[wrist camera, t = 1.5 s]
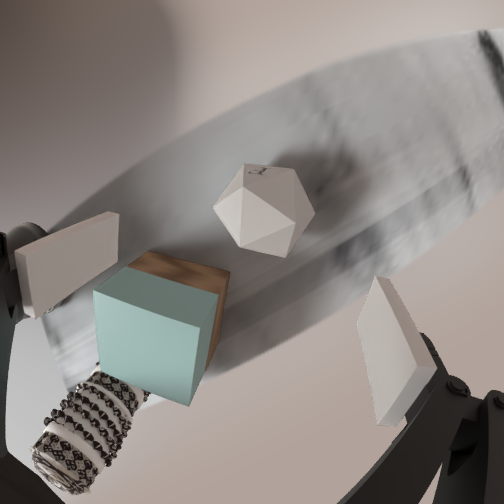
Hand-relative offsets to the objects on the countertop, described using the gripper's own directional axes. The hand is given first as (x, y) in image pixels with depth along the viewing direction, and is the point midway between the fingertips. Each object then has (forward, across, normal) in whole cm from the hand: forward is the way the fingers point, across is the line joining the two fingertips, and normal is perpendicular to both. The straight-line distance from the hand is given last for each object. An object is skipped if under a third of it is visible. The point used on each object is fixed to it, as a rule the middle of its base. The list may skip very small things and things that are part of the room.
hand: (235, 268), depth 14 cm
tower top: (+12, -8, -14) cm, 20 cm away
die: (+18, 0, 0) cm, 18 cm away
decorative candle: (+18, -14, -26) cm, 35 cm away
